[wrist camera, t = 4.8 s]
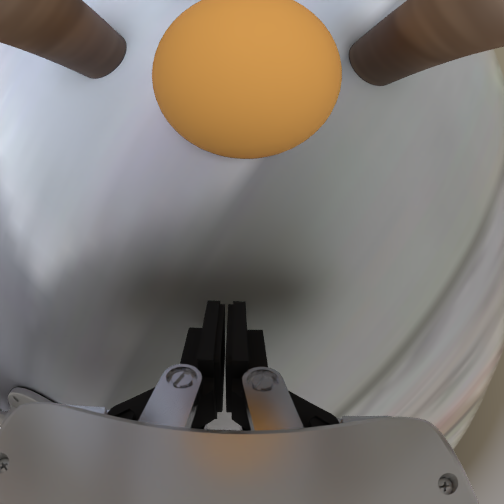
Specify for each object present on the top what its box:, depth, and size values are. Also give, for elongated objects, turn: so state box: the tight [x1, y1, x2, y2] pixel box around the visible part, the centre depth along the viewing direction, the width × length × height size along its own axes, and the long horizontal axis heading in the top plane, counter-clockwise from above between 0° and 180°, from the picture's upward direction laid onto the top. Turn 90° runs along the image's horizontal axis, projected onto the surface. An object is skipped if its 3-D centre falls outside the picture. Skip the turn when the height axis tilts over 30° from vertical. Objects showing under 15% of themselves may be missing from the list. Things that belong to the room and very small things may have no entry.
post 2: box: [349, 0, 504, 86], centre depth 5 cm, size 3×3×9 cm
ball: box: [152, 0, 342, 159], centre depth 7 cm, size 6×6×6 cm
